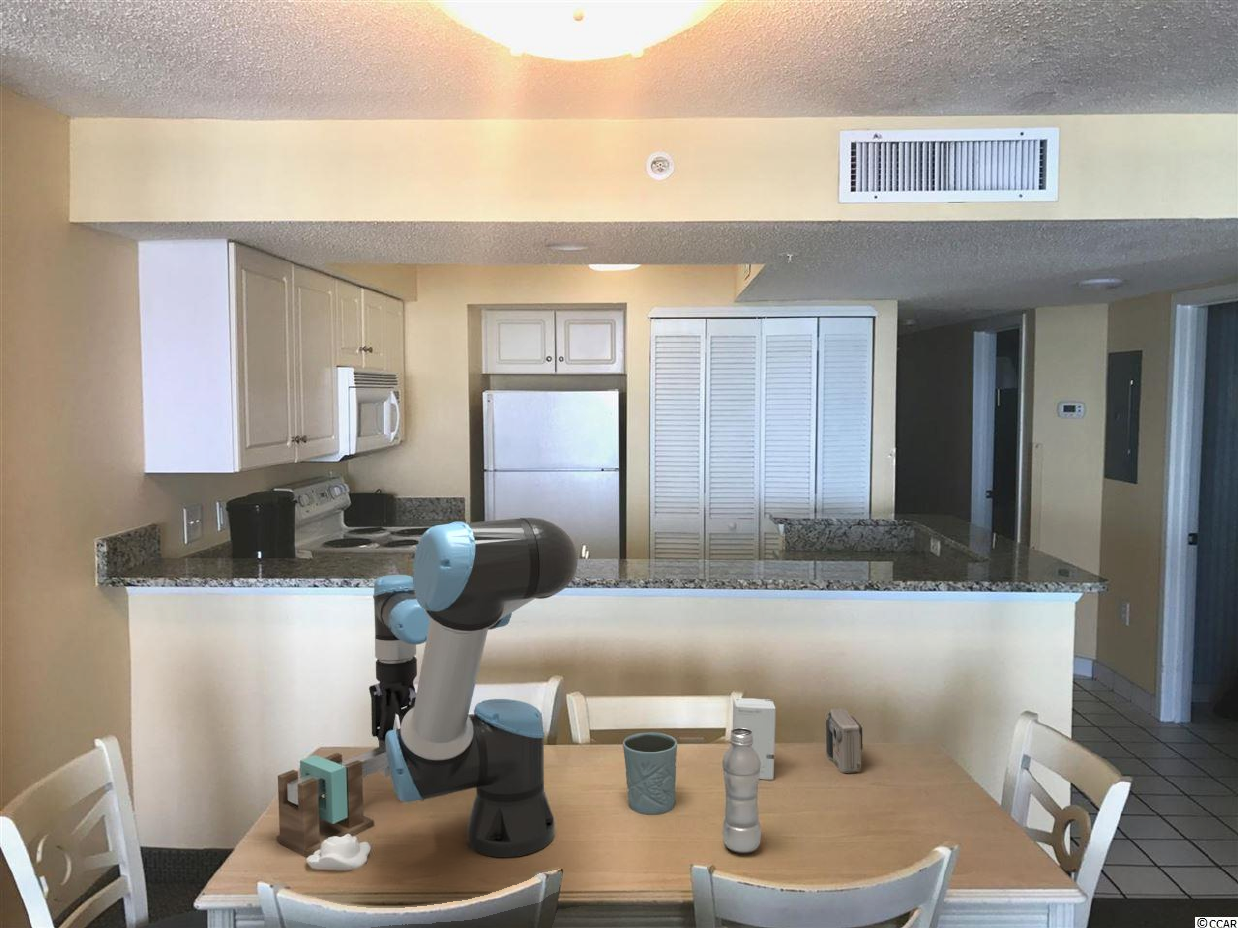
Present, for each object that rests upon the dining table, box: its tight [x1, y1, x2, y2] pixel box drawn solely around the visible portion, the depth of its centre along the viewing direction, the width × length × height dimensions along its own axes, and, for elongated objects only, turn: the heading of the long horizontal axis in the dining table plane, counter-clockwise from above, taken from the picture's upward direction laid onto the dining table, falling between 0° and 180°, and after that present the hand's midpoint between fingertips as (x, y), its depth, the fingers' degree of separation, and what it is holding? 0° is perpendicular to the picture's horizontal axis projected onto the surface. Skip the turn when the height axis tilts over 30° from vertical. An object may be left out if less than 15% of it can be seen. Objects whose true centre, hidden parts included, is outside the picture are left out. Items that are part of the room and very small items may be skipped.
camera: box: [825, 707, 863, 774], centre depth 180 cm, size 11×6×10 cm, turn 0°
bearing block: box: [275, 752, 375, 859], centre depth 152 cm, size 14×9×12 cm, turn 144°
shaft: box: [287, 737, 389, 805], centre depth 156 cm, size 25×5×5 cm, turn 144°
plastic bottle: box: [721, 728, 762, 854], centre depth 145 cm, size 6×7×20 cm
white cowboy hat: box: [306, 834, 372, 871], centre depth 143 cm, size 10×4×10 cm
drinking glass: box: [622, 731, 678, 816], centre depth 162 cm, size 10×10×12 cm
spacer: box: [299, 754, 348, 824], centre depth 151 cm, size 3×9×9 cm, turn 54°
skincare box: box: [732, 697, 776, 781], centre depth 175 cm, size 8×6×15 cm
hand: (399, 777), depth 165 cm, fingers closed on shaft, 5 cm apart
